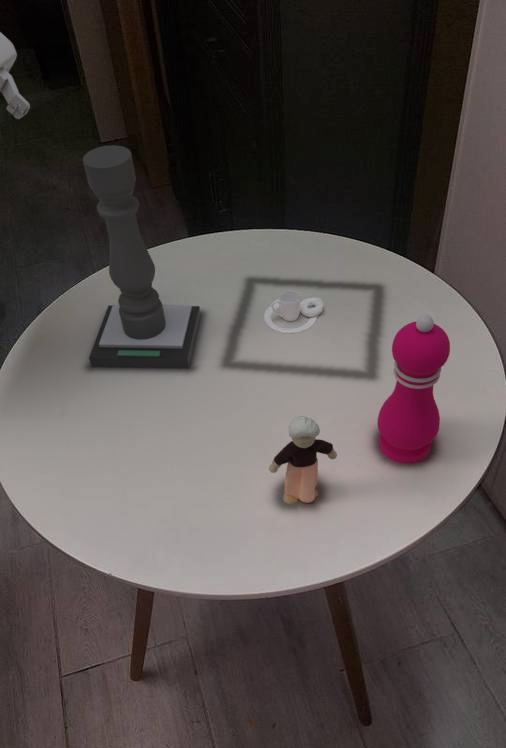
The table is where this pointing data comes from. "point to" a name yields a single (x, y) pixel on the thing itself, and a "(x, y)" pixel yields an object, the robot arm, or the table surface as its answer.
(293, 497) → the grandmother figurine
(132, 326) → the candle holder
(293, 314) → the teacup and saucer
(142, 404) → the table surface
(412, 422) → the pepper mill
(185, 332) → the scale
